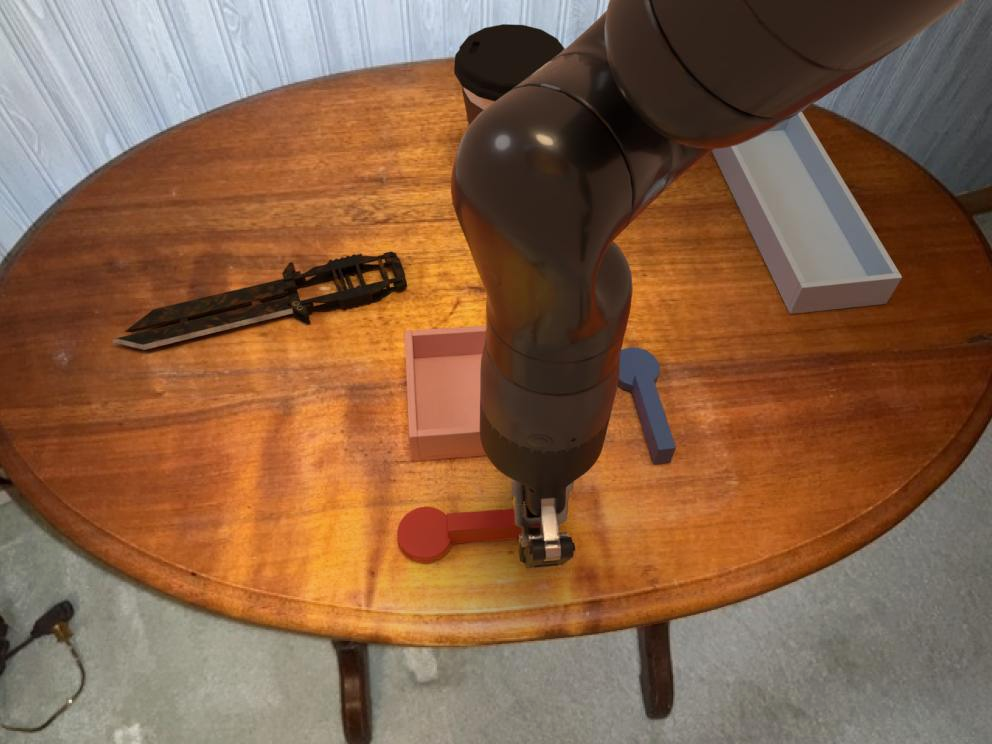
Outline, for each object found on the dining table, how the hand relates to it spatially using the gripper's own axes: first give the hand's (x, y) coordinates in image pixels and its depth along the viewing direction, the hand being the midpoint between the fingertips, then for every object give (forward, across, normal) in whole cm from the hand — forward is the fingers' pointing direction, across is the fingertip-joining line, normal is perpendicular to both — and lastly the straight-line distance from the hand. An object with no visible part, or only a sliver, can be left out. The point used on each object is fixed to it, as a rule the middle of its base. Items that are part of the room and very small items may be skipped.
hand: (530, 526), depth 60 cm
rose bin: (0, +12, +1) cm, 12 cm away
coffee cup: (+1, +42, -3) cm, 42 cm away
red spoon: (0, 0, +4) cm, 4 cm away
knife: (+1, +23, +20) cm, 31 cm away
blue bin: (0, +31, -30) cm, 43 cm away
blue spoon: (0, +10, -11) cm, 15 cm away
